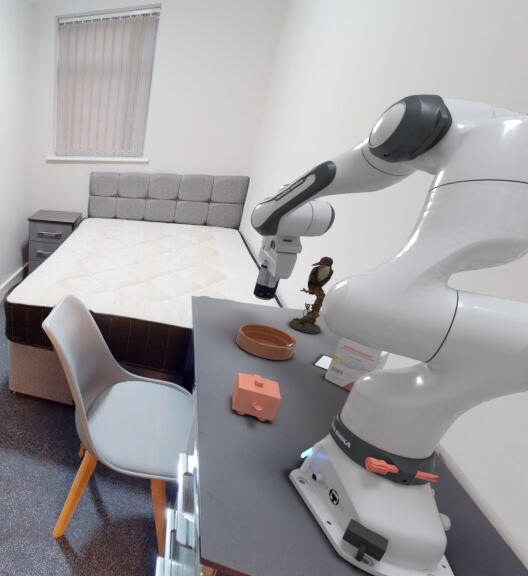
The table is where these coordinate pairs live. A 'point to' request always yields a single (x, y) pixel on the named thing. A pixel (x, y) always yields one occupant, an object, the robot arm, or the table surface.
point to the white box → (324, 362)
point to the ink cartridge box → (353, 362)
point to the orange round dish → (266, 341)
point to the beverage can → (264, 284)
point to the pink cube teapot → (256, 396)
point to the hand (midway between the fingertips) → (267, 282)
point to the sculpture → (315, 284)
